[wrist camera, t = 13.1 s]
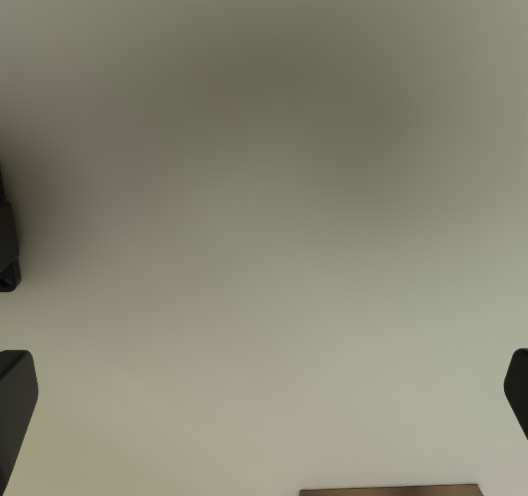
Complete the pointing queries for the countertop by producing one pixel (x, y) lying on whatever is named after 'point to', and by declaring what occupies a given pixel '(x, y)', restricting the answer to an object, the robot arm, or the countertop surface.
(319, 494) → the cradle
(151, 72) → the countertop surface
